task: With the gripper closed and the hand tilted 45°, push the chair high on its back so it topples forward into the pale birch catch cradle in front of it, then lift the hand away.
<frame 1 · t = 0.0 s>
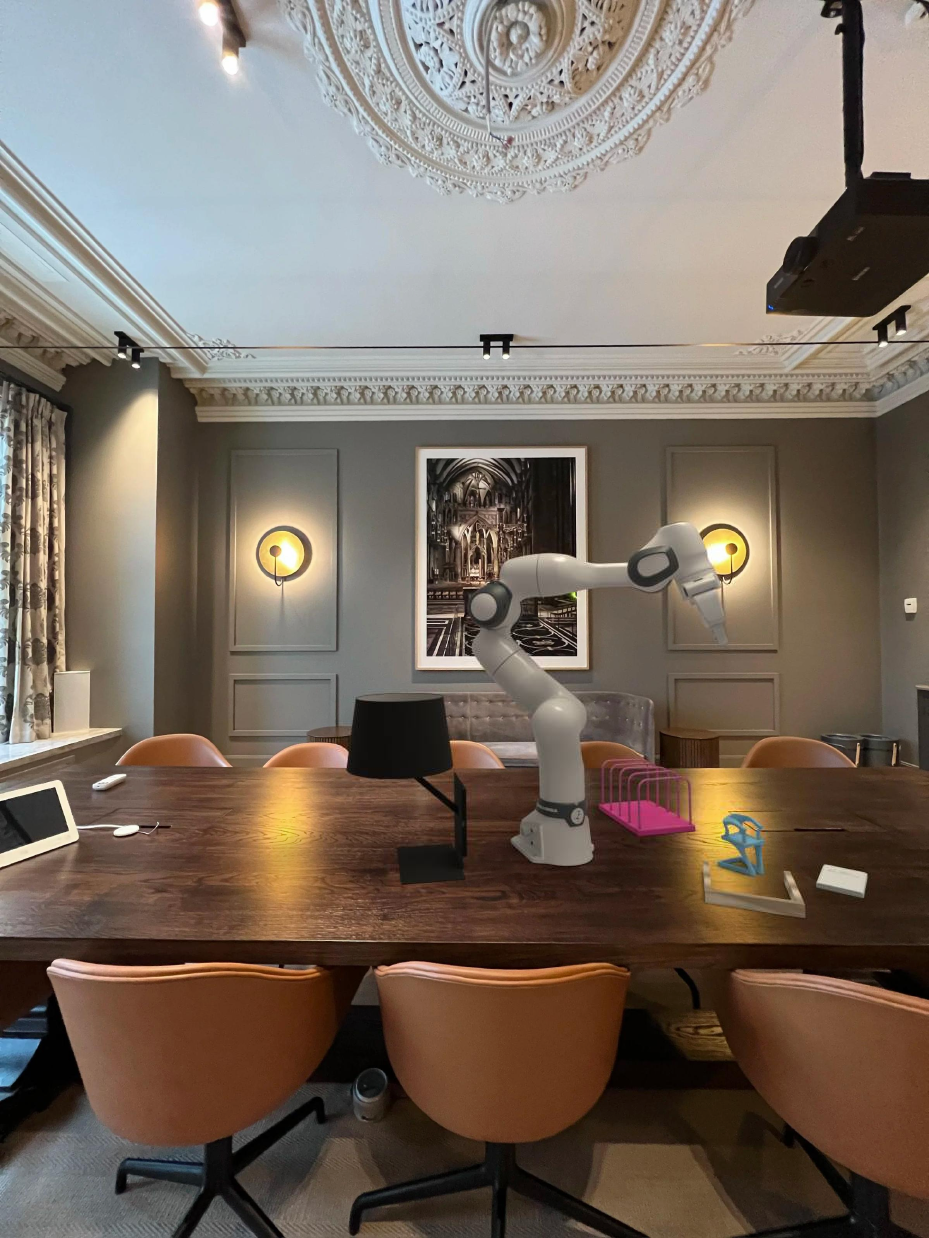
hand: (722, 643, 125), 52 cm above the table, tool tilted 20°, fingers open, 8 cm apart
chair: (743, 869, 127), on the table
table lamp: (406, 865, 132), on the table
catch cradle: (748, 890, 116), on the table
external hard drive: (842, 885, 120), on the table
file sorter: (644, 820, 163), on the table
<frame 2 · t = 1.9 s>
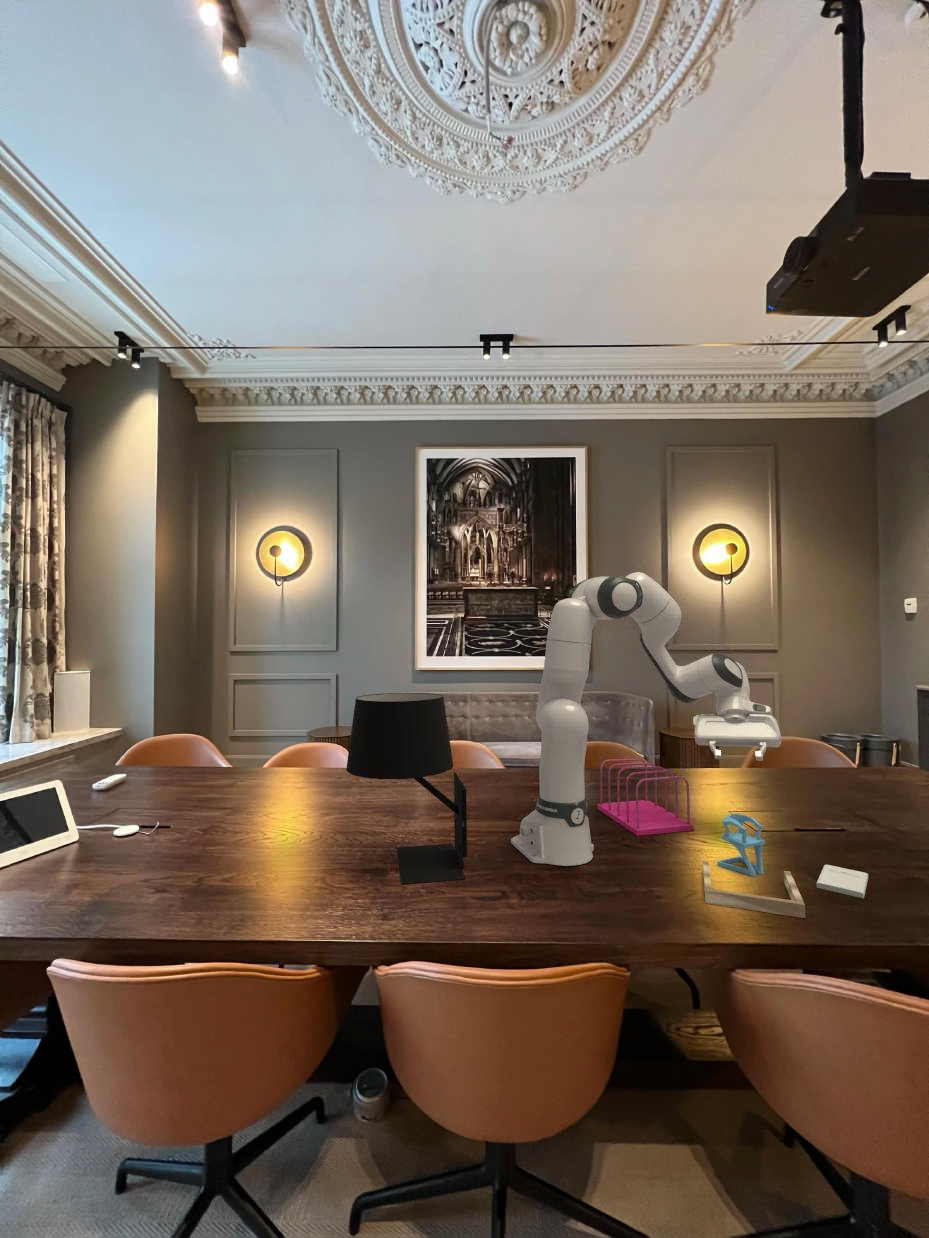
hand: (738, 758, 139), 23 cm above the table, tool tilted 45°, fingers open, 8 cm apart
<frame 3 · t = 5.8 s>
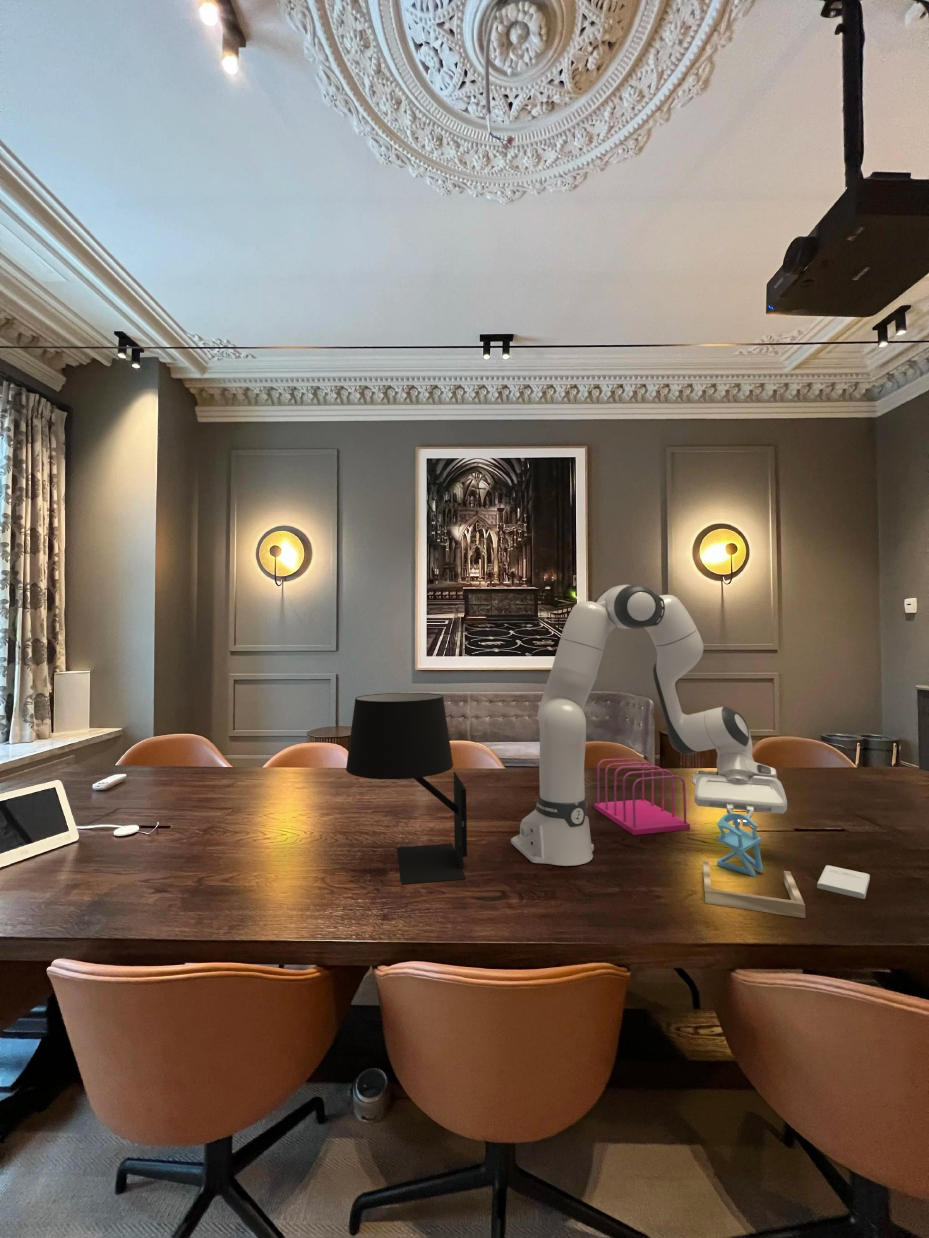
hand: (741, 824, 130), 9 cm above the table, tool tilted 45°, fingers closed
chair: (743, 866, 127), on the table, touching gripper
file sorter: (639, 819, 164), on the table
everything else where it was.
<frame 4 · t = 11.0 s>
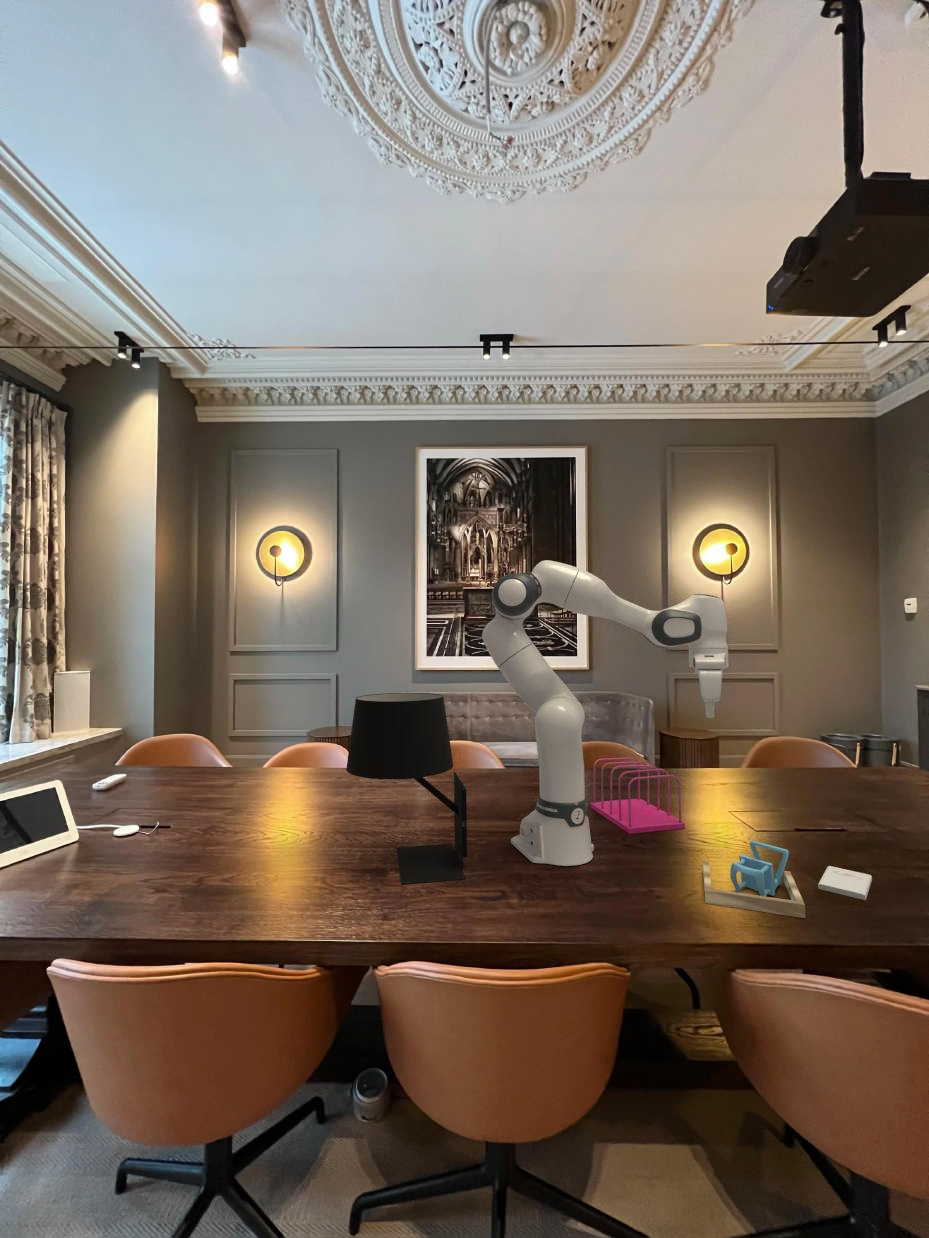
hand: (710, 717, 135), 34 cm above the table, tool pointing down, fingers closed
chair: (771, 863, 120), point 4 cm above the table
file sorter: (635, 818, 165), on the table
everything else where it was.
at the end: chair tilted 96°; chair inside the target area (4.7 cm from its centre), point 4.2 cm above the table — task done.
